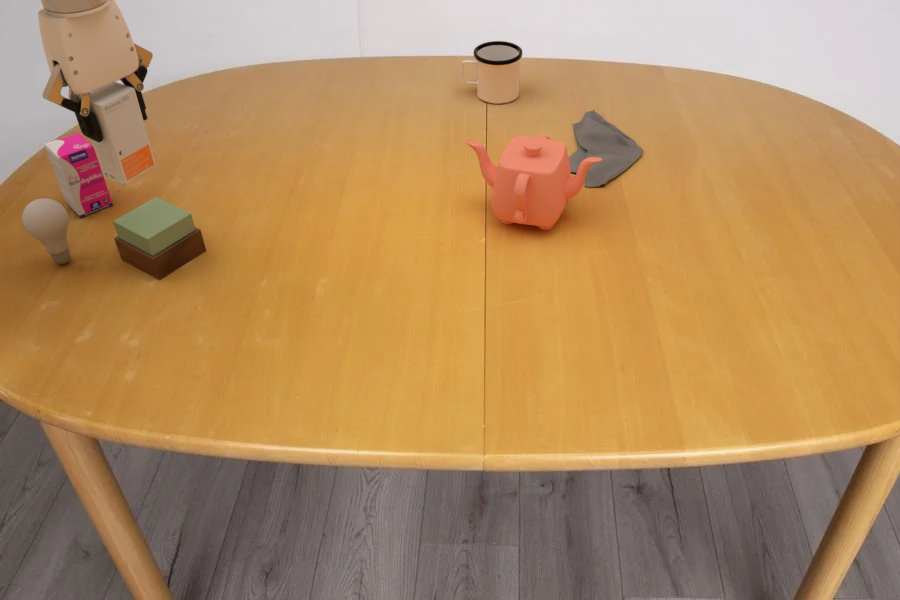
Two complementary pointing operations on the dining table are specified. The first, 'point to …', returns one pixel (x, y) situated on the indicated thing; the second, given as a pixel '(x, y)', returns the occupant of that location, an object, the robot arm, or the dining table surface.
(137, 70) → the robot arm
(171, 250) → the walnut block
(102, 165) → the cosmetic box
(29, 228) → the lightbulb
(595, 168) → the cloth
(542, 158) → the teapot
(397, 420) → the dining table surface
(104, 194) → the supplement box
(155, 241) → the green block
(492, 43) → the mug
